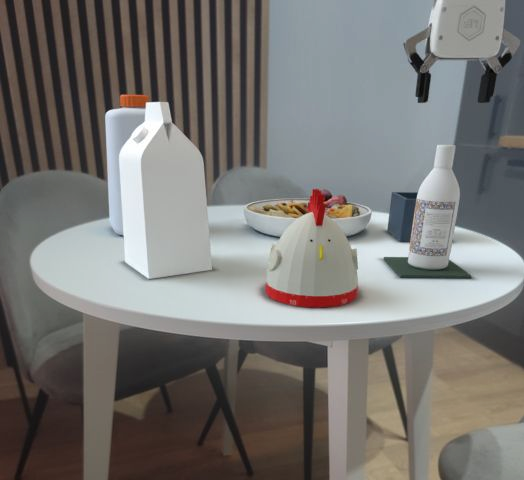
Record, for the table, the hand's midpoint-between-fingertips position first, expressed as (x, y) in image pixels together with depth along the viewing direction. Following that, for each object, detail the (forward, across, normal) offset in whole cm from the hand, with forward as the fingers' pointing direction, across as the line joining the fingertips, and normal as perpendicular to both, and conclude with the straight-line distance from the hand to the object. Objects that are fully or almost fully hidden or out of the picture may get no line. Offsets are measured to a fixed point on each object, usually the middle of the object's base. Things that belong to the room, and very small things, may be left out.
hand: (452, 102), depth 78 cm
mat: (+27, -1, 0) cm, 27 cm away
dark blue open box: (+27, +6, +27) cm, 38 cm away
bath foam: (+26, 0, 0) cm, 26 cm away
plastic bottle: (+26, -57, +31) cm, 70 cm away
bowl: (+27, -19, +34) cm, 47 cm away
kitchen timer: (+26, -23, -14) cm, 38 cm away
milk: (+26, -47, 0) cm, 54 cm away
